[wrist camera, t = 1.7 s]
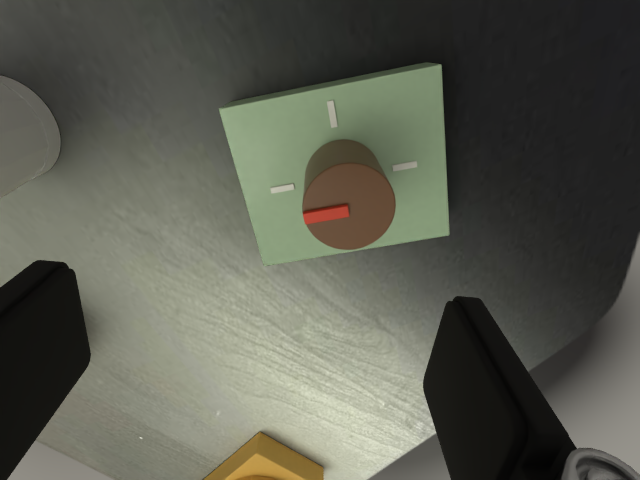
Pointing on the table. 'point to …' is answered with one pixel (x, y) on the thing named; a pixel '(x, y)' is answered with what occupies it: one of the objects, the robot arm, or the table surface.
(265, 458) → the button box
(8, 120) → the cup
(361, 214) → the knob
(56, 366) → the robot arm
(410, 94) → the panel
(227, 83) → the table surface
